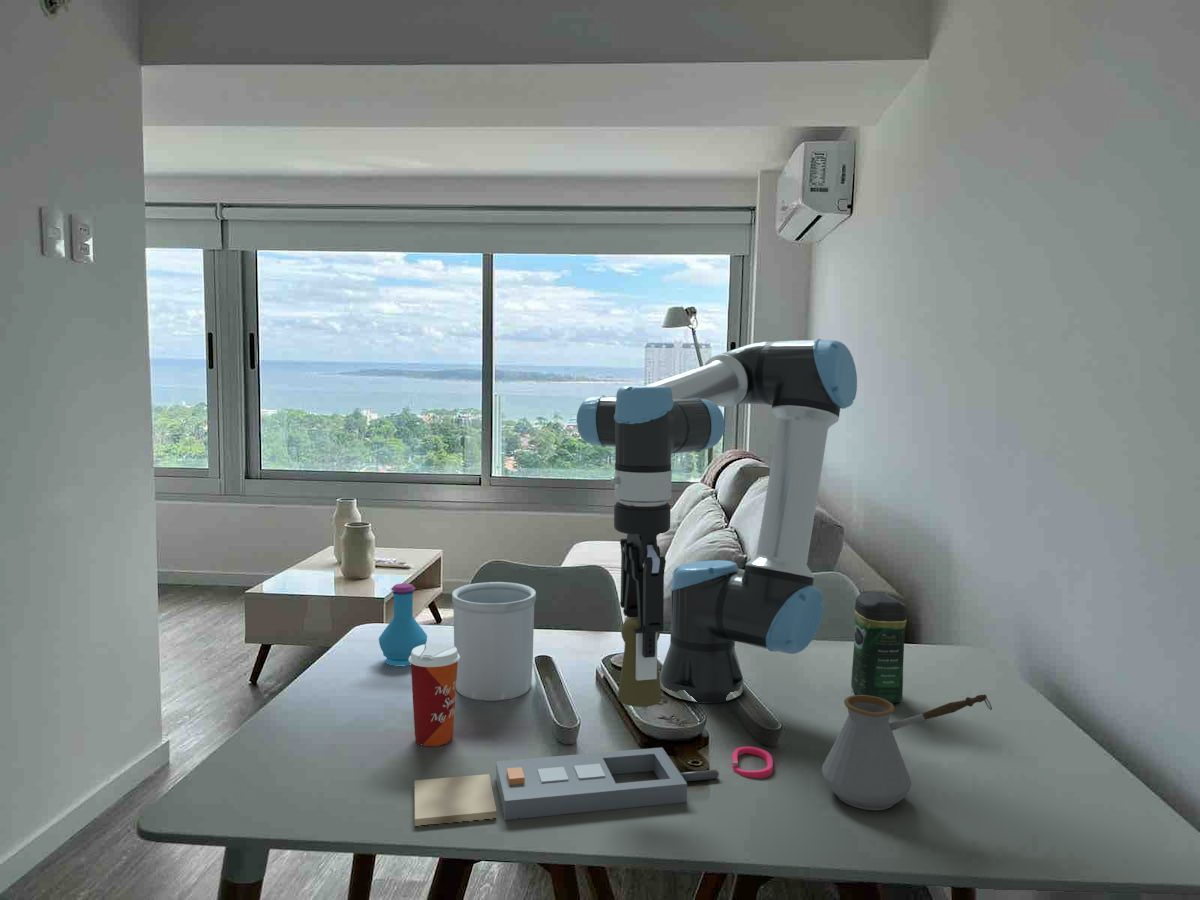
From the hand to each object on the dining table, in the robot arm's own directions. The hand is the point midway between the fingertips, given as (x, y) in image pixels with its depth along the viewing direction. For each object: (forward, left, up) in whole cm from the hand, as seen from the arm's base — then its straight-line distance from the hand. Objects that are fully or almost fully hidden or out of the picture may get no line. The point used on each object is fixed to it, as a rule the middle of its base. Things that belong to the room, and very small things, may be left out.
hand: (640, 670), depth 111 cm
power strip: (+4, 0, -16) cm, 16 cm away
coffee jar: (-51, -24, -16) cm, 59 cm away
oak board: (+25, 0, -16) cm, 30 cm away
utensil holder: (+16, -40, -16) cm, 46 cm away
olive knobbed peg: (0, 0, -4) cm, 4 cm away
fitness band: (-18, -3, -17) cm, 25 cm away
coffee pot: (-34, +10, -16) cm, 39 cm away
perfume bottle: (+32, -57, -16) cm, 67 cm away
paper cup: (+27, -20, -16) cm, 37 cm away
